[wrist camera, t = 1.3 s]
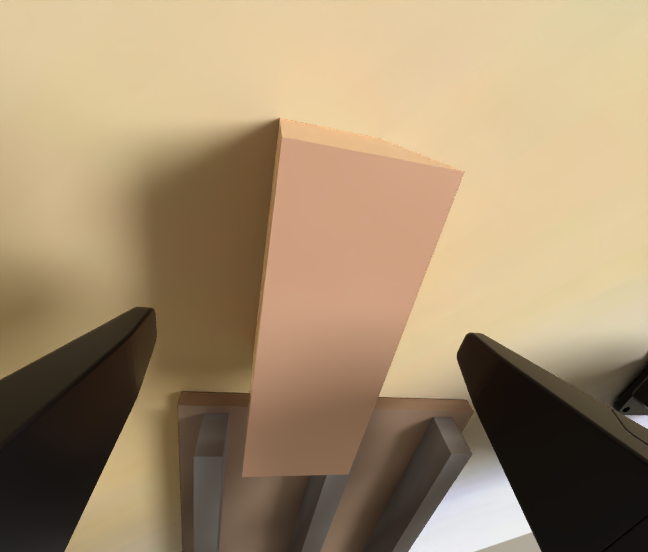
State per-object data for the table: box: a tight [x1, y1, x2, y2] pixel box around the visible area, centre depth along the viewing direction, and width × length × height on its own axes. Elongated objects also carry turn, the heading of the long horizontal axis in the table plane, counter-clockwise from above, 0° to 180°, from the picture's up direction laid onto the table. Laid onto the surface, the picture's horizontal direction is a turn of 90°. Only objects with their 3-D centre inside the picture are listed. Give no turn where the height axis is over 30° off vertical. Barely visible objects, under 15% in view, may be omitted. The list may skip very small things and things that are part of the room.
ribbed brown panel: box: [178, 392, 474, 552], centre depth 21 cm, size 16×20×3 cm
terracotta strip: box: [242, 118, 464, 477], centre depth 11 cm, size 4×10×6 cm, turn 169°
